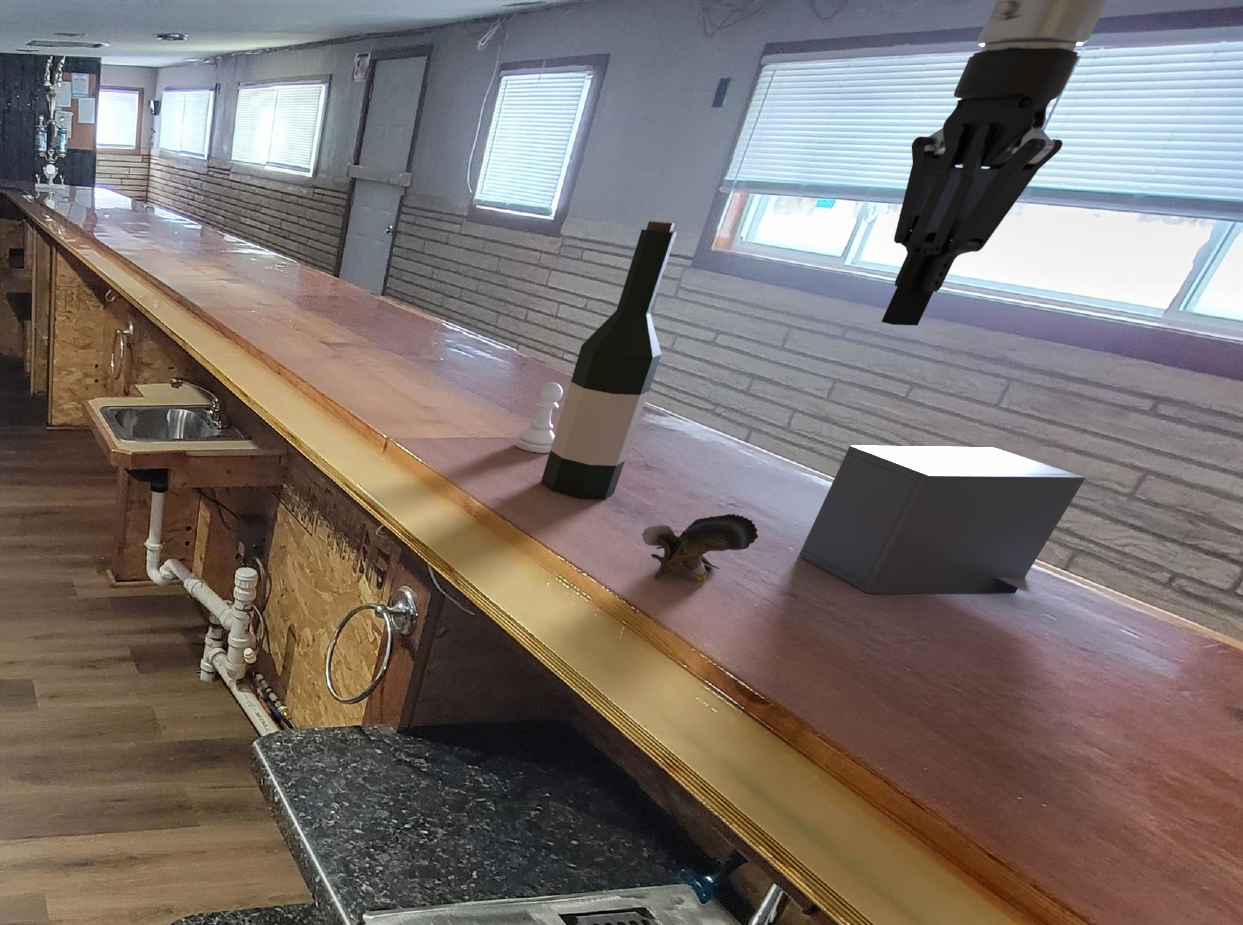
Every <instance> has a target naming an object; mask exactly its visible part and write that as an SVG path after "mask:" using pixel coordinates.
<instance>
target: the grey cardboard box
mask: <svg viewBox="0 0 1243 925" xmlns="http://www.w3.org/2000/svg"><path fill="white" fill-rule="evenodd" d="M837 470H838V471H837V472H836V475H835V476H834V479H833V481H832V483H831V486H830V488H829V490H828V492H827V494H826V496H825V498H824V500H823V503H822V505H821V507H820V508H819V511H818V513H817V516H816V517H815V520H814V522H813V524H812V526H811V528H810V530H809V532H808V534H807V537H806V539H805V540H804V543H803V545H802V548H801V549H800V552H799V554H798V557H800V558H802V559H804V560H805V561H807V562H809V563H811V564H812V565H815V566H817V567H818V568H820V569H822V570H824V571H826V572H827V573H829V574H831V575H833V576H835V577H837V578H838V579H840V580H842V581H844V582H846V583H847V584H849V585H851V586H853V587H855V588H857V589H859V590H860V591H862V592H864V593H866V594H868V595H869V594H872V595H873V594H874V595H875V594H877V595H879V594H882V595H883V594H884V595H885V594H886V595H888V594H891V595H893V594H896V595H897V594H899V595H901V594H904V595H906V594H907V595H908V594H911V595H915V594H918V595H919V594H922V595H923V594H927V595H928V594H929V595H930V594H1016V593H1017V591H1018V589H1019V587H1017V586H1015V585H1013V584H1010V583H1009V582H1007V581H1004V580H1002V579H1000V578H1026V577H1027V575H1028V573H1029V571H1030V570H1031V568H1032V567H1033V566H1034V563H1035V562H1036V561H1037V558H1038V557H1039V555H1040V553H1041V552H1042V551H1043V549H1044V547H1045V545H1046V543H1047V541H1048V540H1049V539H1050V537H1051V536H1052V534H1053V532H1054V530H1055V529H1056V527H1057V525H1058V524H1059V523H1060V521H1061V519H1062V518H1063V516H1064V514H1065V513H1066V511H1067V509H1068V508H1069V506H1070V504H1071V503H1072V501H1073V499H1074V498H1075V496H1076V495H1077V492H1078V491H1079V490H1080V488H1081V486H1082V485H1083V483H1084V481H1085V479H1086V476H1083V475H1079V474H1076V473H1073V472H1071V471H1067V470H1064V469H1062V468H1058V467H1055V466H1052V465H1048V464H1045V463H1043V462H1040V461H1036V460H1033V459H1030V458H1028V457H1024V456H1022V455H1018V454H1015V453H1013V452H1009V451H1006V450H1004V449H1003V450H1002V449H1000V448H997V447H980V446H979V447H975V446H973V447H972V446H971V447H970V446H964V447H963V446H913V445H912V446H905V445H903V446H902V445H901V446H900V445H899V446H898V445H849V446H848V448H847V451H846V454H845V455H844V457H843V460H842V462H841V464H840V466H839V468H838V469H837Z"/></svg>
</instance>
